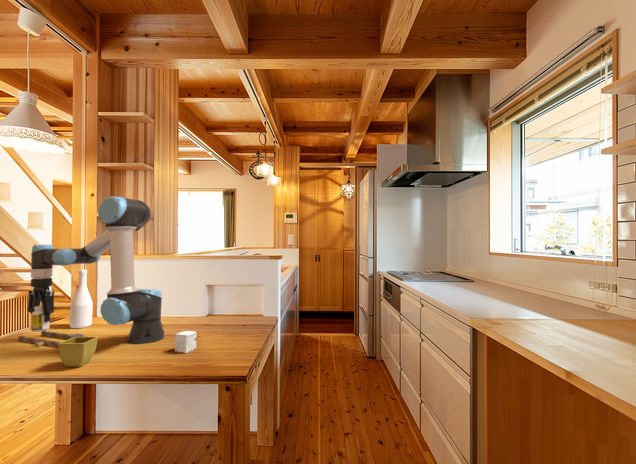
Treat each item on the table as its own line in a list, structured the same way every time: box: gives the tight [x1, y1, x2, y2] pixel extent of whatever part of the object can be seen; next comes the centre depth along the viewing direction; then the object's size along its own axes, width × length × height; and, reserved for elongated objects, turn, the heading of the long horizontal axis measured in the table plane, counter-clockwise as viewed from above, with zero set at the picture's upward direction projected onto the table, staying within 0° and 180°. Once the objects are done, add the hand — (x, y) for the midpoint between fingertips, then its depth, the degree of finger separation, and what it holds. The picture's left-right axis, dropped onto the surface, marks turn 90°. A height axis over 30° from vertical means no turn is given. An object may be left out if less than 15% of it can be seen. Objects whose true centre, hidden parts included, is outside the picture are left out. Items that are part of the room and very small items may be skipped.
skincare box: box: [174, 330, 197, 354], centre depth 135 cm, size 6×6×7 cm
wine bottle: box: [69, 269, 94, 329], centre depth 170 cm, size 10×10×30 cm
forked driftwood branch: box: [17, 330, 88, 348], centre depth 144 cm, size 32×15×4 cm, turn 73°
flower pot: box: [58, 336, 99, 368], centre depth 118 cm, size 9×9×9 cm
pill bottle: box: [30, 305, 50, 333], centre depth 147 cm, size 6×6×11 cm
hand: (40, 328), depth 147 cm, fingers closed on pill bottle, 6 cm apart
